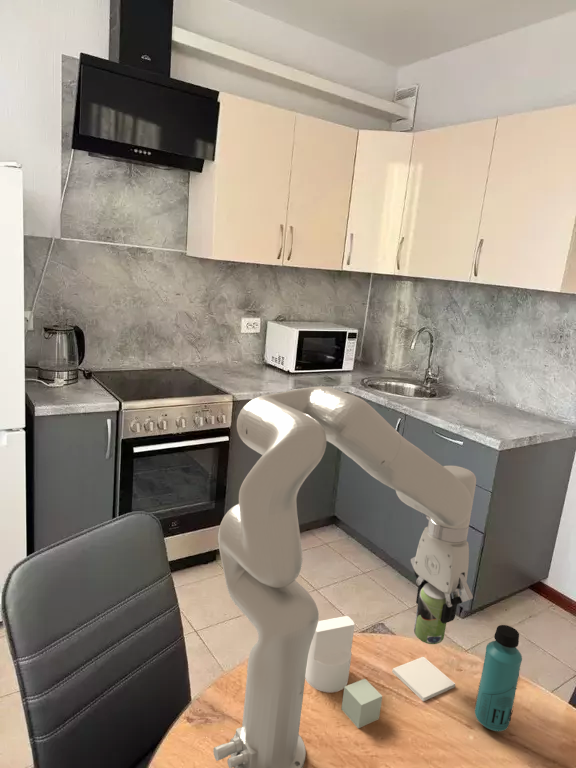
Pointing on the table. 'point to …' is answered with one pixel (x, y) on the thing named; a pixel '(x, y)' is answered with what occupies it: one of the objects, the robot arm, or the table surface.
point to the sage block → (361, 703)
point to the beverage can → (430, 615)
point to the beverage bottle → (499, 680)
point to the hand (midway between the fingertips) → (434, 611)
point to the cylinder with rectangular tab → (330, 654)
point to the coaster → (423, 678)
